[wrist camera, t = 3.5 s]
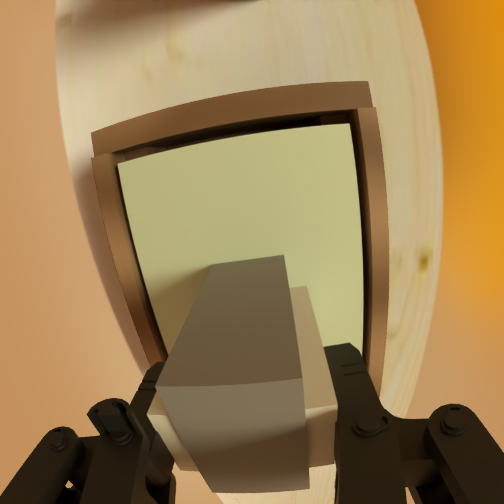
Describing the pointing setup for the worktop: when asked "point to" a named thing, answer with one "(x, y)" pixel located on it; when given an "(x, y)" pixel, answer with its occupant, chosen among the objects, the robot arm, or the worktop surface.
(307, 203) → the lid
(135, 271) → the box
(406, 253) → the worktop surface
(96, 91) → the worktop surface
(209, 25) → the worktop surface
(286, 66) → the worktop surface
